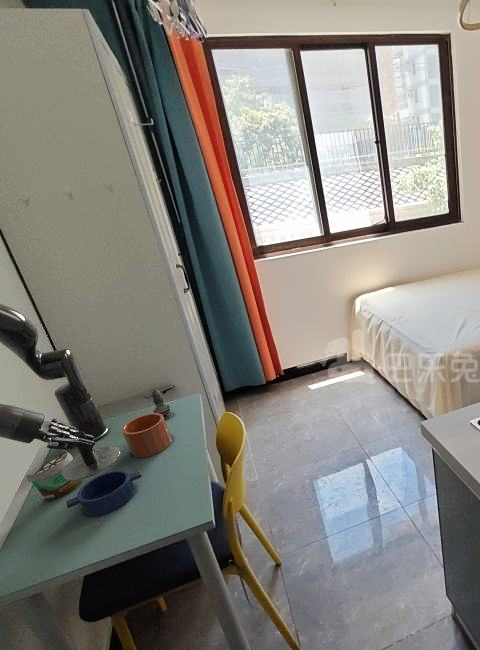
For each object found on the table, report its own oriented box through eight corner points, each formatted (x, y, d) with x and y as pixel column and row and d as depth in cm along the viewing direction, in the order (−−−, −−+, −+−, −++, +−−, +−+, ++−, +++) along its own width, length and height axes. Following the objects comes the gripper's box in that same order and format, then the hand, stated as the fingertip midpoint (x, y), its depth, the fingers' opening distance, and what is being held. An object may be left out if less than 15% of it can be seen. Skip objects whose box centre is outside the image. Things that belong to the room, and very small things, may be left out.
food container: (58, 504, 125) (42, 477, 121) (41, 503, 126) (24, 476, 122) (93, 475, 136) (79, 449, 132) (77, 475, 137) (63, 448, 133)
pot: (130, 445, 149) (119, 423, 146) (168, 430, 155) (159, 409, 152) (134, 462, 140) (124, 438, 136) (175, 445, 146) (166, 422, 142)
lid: (63, 464, 122) (46, 433, 117) (118, 443, 128) (105, 413, 124) (63, 489, 111) (45, 457, 107) (123, 465, 118) (109, 433, 114)
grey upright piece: (153, 421, 163) (141, 393, 158) (163, 412, 168) (152, 385, 163) (167, 421, 162) (155, 392, 157) (176, 412, 167) (166, 384, 162)
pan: (72, 503, 125) (65, 489, 123) (142, 473, 134) (136, 460, 132) (73, 528, 115) (65, 514, 113) (148, 495, 124) (142, 481, 122)
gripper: (21, 421, 102) (102, 442, 113) (24, 399, 113) (98, 420, 124) (3, 449, 101) (86, 468, 113) (8, 425, 112) (84, 444, 123)
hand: (92, 443), depth 118 cm, fingers closed on lid, 3 cm apart
